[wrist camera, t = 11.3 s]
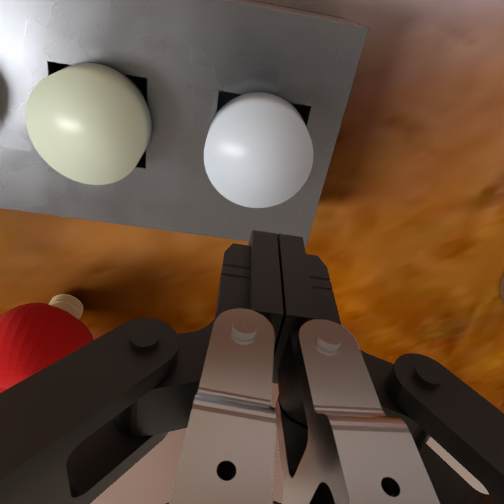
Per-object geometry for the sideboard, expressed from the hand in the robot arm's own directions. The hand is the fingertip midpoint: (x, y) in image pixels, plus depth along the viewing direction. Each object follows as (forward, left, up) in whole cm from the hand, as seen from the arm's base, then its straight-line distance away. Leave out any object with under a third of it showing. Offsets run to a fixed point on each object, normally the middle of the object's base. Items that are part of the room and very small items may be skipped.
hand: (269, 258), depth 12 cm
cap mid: (+8, 0, -13) cm, 16 cm away
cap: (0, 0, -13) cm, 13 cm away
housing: (+8, 0, -17) cm, 18 cm away
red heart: (+13, +18, -17) cm, 28 cm away
